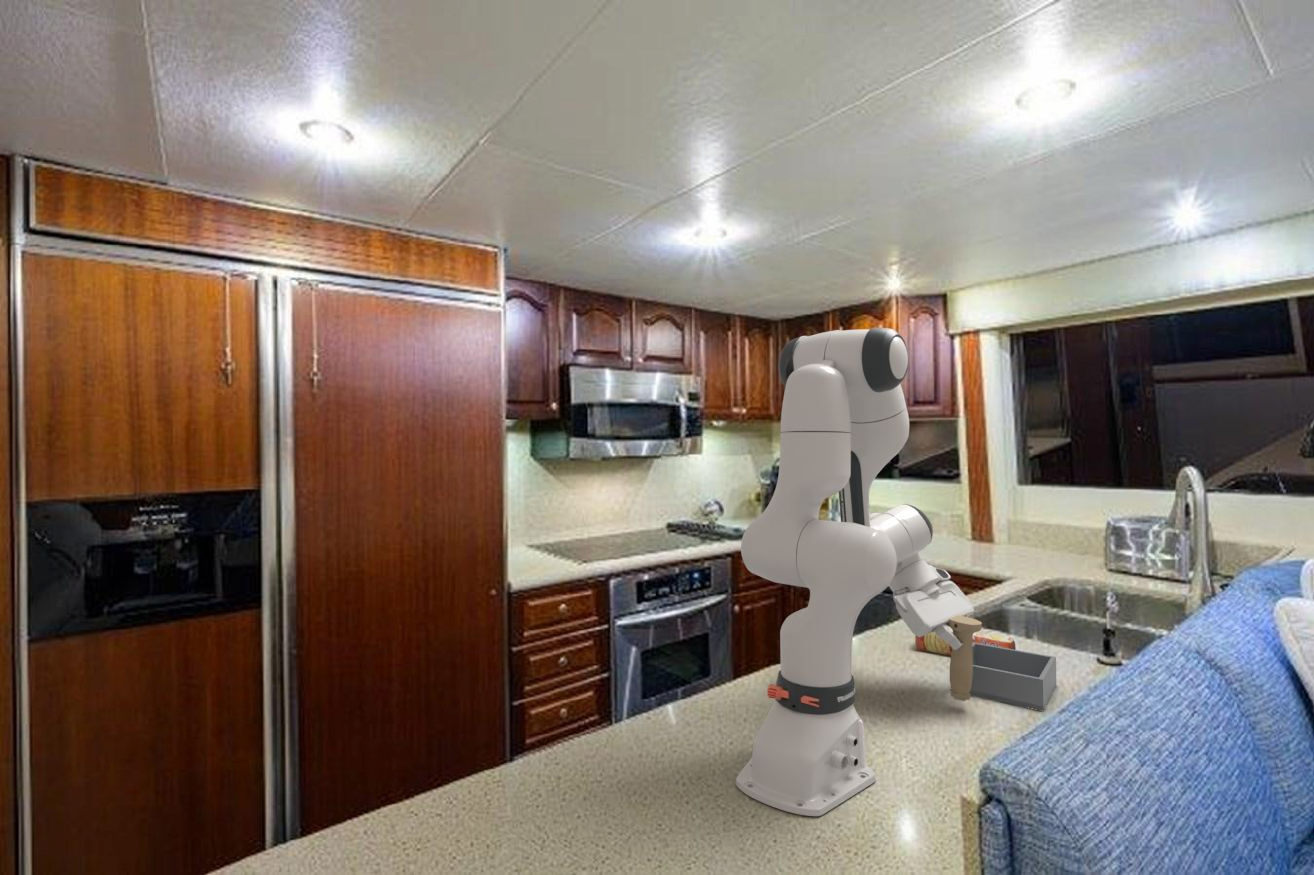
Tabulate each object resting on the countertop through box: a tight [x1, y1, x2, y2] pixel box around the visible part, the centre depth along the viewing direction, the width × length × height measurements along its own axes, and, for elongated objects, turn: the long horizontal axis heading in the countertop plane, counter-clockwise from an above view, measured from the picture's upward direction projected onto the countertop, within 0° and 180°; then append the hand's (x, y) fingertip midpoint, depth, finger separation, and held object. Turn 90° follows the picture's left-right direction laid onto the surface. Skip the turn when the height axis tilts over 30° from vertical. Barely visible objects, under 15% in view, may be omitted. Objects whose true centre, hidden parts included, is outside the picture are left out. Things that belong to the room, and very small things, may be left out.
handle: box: [946, 615, 983, 702], centre depth 123 cm, size 5×6×15 cm
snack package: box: [914, 626, 1017, 657], centre depth 153 cm, size 21×7×7 cm, turn 51°
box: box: [969, 642, 1057, 711], centre depth 133 cm, size 16×16×6 cm
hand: (965, 645), depth 122 cm, fingers closed on handle, 3 cm apart
